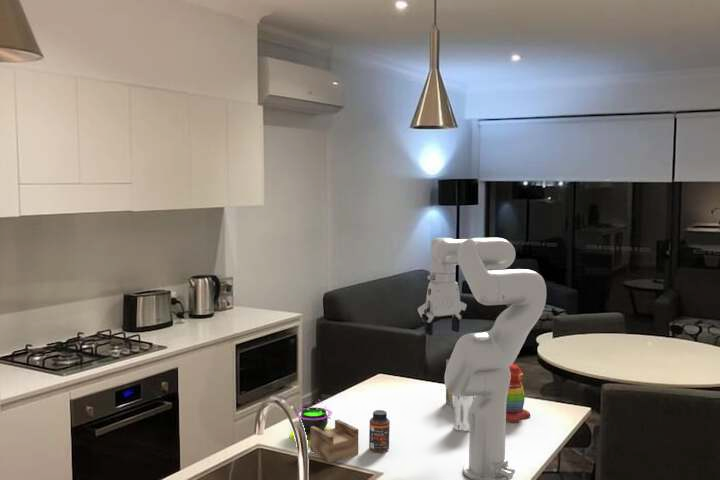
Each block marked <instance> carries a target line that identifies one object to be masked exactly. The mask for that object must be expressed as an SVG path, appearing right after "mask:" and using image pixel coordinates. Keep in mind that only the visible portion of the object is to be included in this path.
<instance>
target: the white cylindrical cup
mask: <svg viewBox="0 0 720 480" xmlns="http://www.w3.org/2000/svg"><path fill="white" fill-rule="evenodd" d="M474 397H475V396H468V397H456V396H453V395H452V399H453V406H452V407H453V410H454V411H453V413H454V421H453V425H452V427H453V430H455V431H457V432H461V433H462V432H464V433H465V432H469V429H470V407H471V404H472V401H473V399H474Z"/></svg>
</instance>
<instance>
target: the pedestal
mask: <svg viewBox="0 0 720 480" xmlns="http://www.w3.org/2000/svg"><path fill="white" fill-rule="evenodd" d="M309 448H310V450H309V451H310V452H311V451H312V452H314V453H315V454H314V453H313V454H314V455H316V454H317V455H318V456H317V455H316V456H317V457H319V456H320V458H321V459H322V460H325V461H326V462H328V463H334V462H337V461H341V460H344V459H347V458H350V457H353V456H357V455H359V428H357V427H355V426H353V425H350V424H349V423H347V422H345V421H342V420H341V419H335V420H334V428H332V429H330V430H326V431H323V430H321V429H319V428H317V427H315V426H311V427H310V447H309ZM312 452H311V453H312Z"/></svg>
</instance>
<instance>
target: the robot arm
mask: <svg viewBox="0 0 720 480" xmlns="http://www.w3.org/2000/svg"><path fill="white" fill-rule="evenodd" d="M430 244H431V245H430V275H427V280H429V281H430V282H429V283H428V286H427V292H426V300H425V302H424V303H423V304H422V305H420V306H419V307H418V308H417V312H418V313H419V317H420V318H421V319H422V321H423V322H424V331H425V332H424V333H425V334H426V335H428V336H433V334H434V333H433V332H434V331H433V329H434V328H433V327H434V325H433V324H434V323H433V322H432V321H433V319H434V317H446V316H452V317H451V331H453V332H456V333H459V332H460V326H461V325H460V321H461V319H462V316H463V315H464V314H465V311H466V309H467V303H465V302H463V301H461V294H460V287H459V282H457V281H456V266H457V265H458V266H459V268H460V271H461V272H462V275H463V277H464V279H465V281H466V282H467V284H468V288H469V289H470V291H471V293H472V295H473V297H474V299H475V300H476V301H477V303H479V304H481V305H484V306H498V305H510V306H509V307H507V308H506V309H504V310H503V311H502V312H501V313H500V314H499V315H498V316H497V317H496V319H495V321H494V323H493V326H492V327H491V329H490V330H487V331H480V332H479V331H478V332H469V333H466V334H464V335H462V336H460V337H458V338H459V339H458V340H457V341H456V343H455V346H454V347H453V351H452V352H451V355H450V358H449V359H450V360H449V362H448V365H447V368H446V367H445V372H444V385H445V390H446V389H447V391H448V392H449V393H450V394H451V395H453V396H456V397H468V396H474V399H473V401H472V404H471V407H470V429H469V431H468V434H469V436H468V438H469V439H468V440H469V441H468V443H469V445H468V461H467V462H466V463H464V464H463V466H462V472H463V474H464V476H466V477H467V478H468V479H470V480H512V479H513V477H514V474H515V472H516V470H515V469H514V468H512V467H509V460H508V459H506V456H505V455H506V427H507V426H506V425H507V424H506V423H507V421H506V402H507V394H508V389H509V385H510V379H511V373H510V369H509V366H510V365H511V364H512V363H515V361H516V359H517V357H518V356H519V354H520V351H521V349H522V347H524V346H523V345H524V344H525V342H526V339H527V337H528V335H529V334H530V332H531V330H532V329H533V328H534V326H535V325H536V324H537V322H538V321H539V319H540V317H541V316H542V314H543V311H544V309H545V306H546V304H547V303H546V302H547V285H546V282H545V279H544V277H543V275H541V274H540V273H538V272H537V271H534V270H531V269H525V268H523V269H522V268H515V269H511V268H509V267H510V266H511V265H512V264H513V263H514V261H515V259H516V249H515V247H514V246H513V244H512V243H511V242H510V241H509V240H507V239H505V238H502V237H473V238H472V237H471V238H460V239H459V238H458V239H457V238H456V239H454V238H451V237H436V238H433V239H432V240H431V243H430ZM508 268H509V269H508ZM425 312H426V313H425Z"/></svg>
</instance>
